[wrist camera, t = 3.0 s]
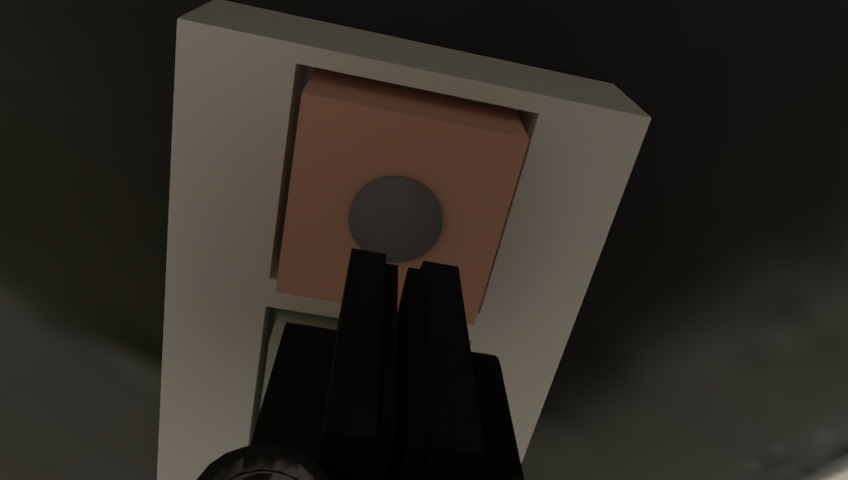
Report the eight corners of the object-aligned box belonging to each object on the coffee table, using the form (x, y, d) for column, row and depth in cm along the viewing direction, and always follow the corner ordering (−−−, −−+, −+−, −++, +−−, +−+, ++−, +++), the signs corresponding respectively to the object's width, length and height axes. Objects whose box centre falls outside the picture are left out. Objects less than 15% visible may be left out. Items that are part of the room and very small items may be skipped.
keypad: (613, 83, 17) (651, 117, 14) (452, 553, 25) (457, 631, 22) (216, -2, 16) (176, 17, 13) (180, 518, 24) (151, 597, 21)
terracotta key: (512, 106, 16) (530, 140, 13) (466, 273, 18) (474, 327, 15) (316, 65, 15) (300, 94, 13) (291, 243, 17) (274, 294, 15)
